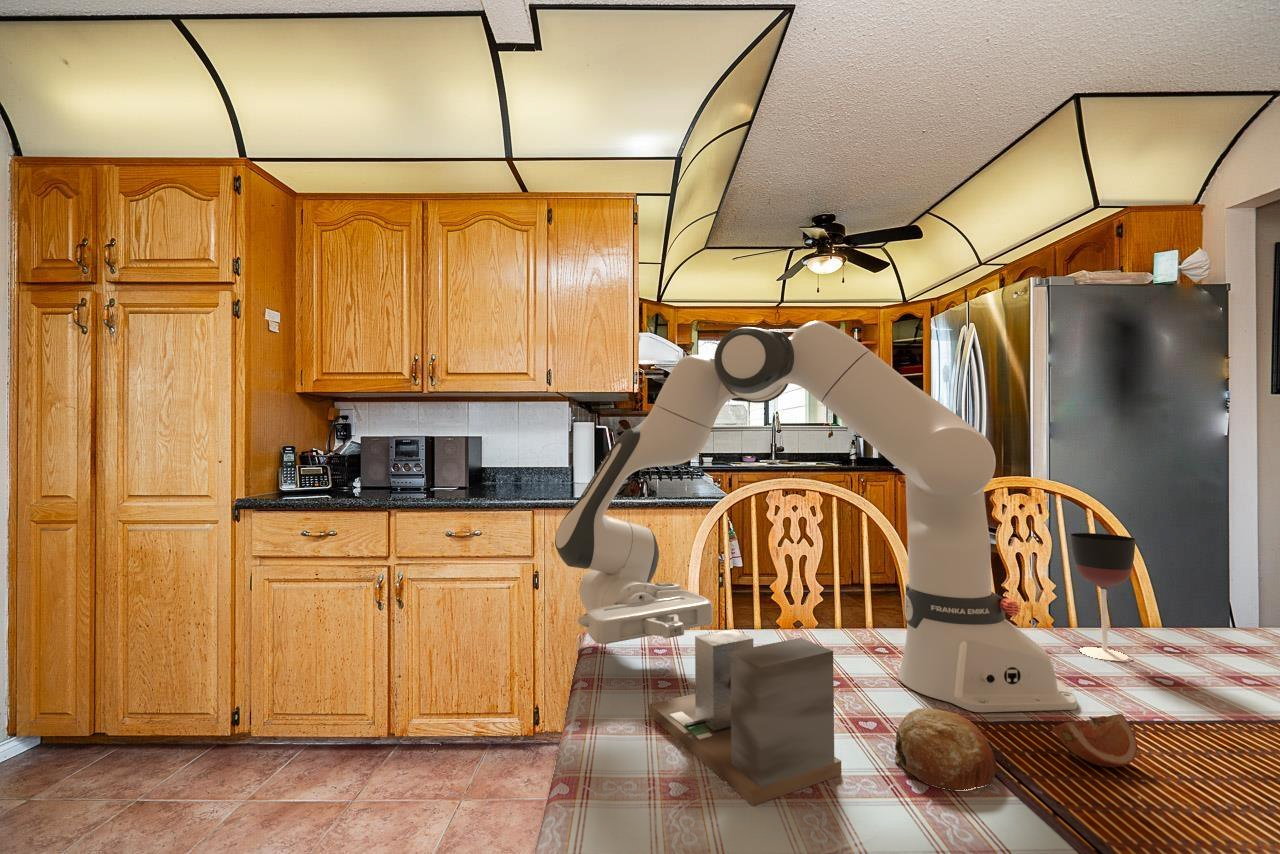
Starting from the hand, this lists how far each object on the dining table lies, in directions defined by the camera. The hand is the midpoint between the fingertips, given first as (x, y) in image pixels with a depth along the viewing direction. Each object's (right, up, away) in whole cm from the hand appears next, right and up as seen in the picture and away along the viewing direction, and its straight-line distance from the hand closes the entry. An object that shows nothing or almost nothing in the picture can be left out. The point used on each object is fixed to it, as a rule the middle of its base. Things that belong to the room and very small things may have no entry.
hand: (675, 631), depth 85 cm
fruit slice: (+46, -9, -18) cm, 50 cm away
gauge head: (+5, -7, -13) cm, 16 cm away
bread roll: (+29, -9, -19) cm, 36 cm away
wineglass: (+74, -10, +16) cm, 77 cm away
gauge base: (+6, -9, -14) cm, 17 cm away
